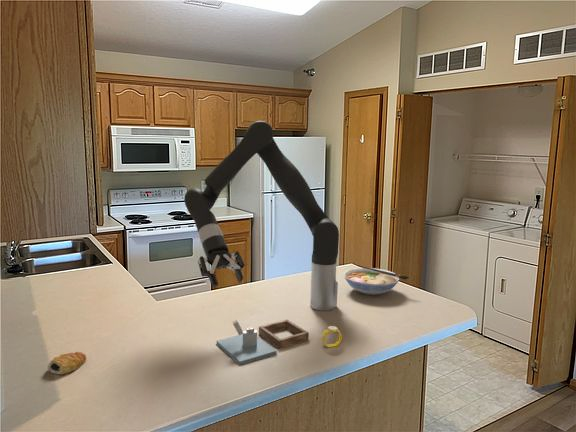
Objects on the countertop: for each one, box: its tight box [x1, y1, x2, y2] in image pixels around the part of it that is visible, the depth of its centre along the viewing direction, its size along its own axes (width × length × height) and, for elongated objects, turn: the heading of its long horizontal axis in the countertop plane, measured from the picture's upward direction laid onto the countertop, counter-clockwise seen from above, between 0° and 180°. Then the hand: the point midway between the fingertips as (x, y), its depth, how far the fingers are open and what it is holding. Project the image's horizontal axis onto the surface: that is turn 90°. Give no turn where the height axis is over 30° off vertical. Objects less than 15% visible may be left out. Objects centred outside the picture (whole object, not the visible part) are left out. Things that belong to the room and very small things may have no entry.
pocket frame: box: [258, 319, 310, 349], centre depth 138 cm, size 11×12×2 cm
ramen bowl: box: [343, 265, 409, 296], centre depth 181 cm, size 25×23×8 cm
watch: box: [321, 325, 343, 348], centre depth 132 cm, size 6×3×6 cm, turn 107°
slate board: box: [216, 334, 278, 366], centre depth 130 cm, size 12×15×1 cm
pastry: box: [47, 351, 87, 376], centre depth 118 cm, size 9×7×4 cm
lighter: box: [232, 319, 258, 347], centre depth 129 cm, size 7×2×8 cm, turn 104°
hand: (228, 283), depth 137 cm, fingers open, 8 cm apart
